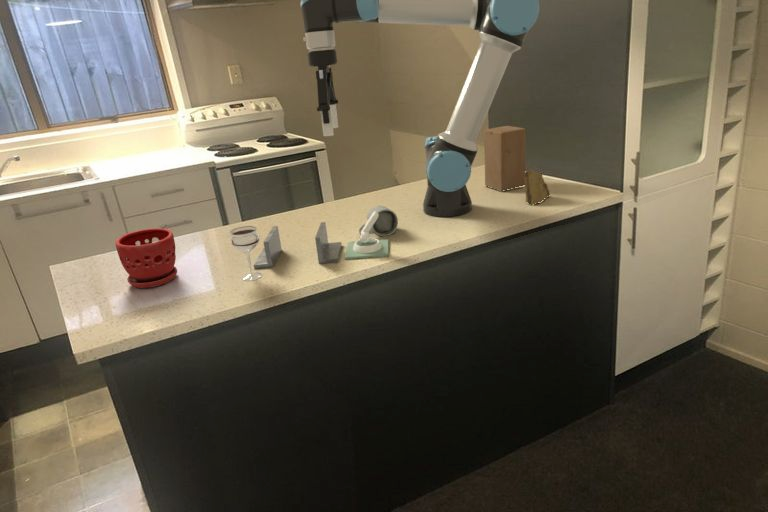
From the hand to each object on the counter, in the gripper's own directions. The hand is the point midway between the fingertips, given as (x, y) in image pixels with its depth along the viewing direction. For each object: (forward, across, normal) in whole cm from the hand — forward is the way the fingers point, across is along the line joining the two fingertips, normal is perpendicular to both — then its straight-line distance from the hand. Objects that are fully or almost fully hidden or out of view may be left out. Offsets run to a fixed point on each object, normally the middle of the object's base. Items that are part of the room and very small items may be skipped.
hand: (331, 131), depth 147 cm
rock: (+29, -14, +61) cm, 69 cm away
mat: (+29, +18, +8) cm, 35 cm away
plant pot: (+29, +28, -45) cm, 60 cm away
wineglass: (+29, +30, -20) cm, 46 cm away
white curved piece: (+28, +18, +8) cm, 35 cm away
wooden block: (+29, -33, +54) cm, 70 cm away
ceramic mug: (+29, +5, +11) cm, 31 cm away
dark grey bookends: (+29, +19, -10) cm, 36 cm away
